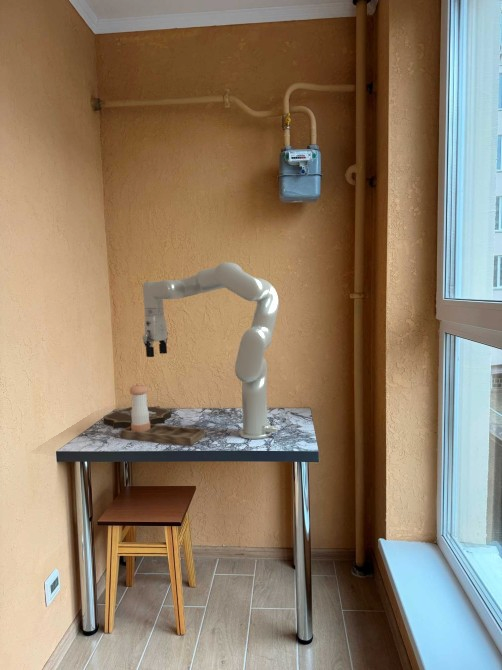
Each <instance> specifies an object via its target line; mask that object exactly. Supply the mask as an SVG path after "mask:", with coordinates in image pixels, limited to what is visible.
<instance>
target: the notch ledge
mask: <svg viewBox="0 0 502 670" xmlns="http://www.w3.org/2000/svg"><path fill="white" fill-rule="evenodd" d="M119 433H120V439H124V440H132V441H142V442H149V443H150V442H152V443H159V444H160V443H161V444H169V445H176V444H179V445H178V446H185V445H190V446H189V447H191V445H192V446H194V445H195V444H197V443H198V442H200V441H201V440H203V439H204V438H205V437H206V429H205V428H193V427H184V426H174V425H173V426H172V425H164V424H163V425H162V424H155V425H154V424H150V429H149V430H147V431H145V432H136V431H132V429H131V426H130V427H127V428H122V429H121V430H120V432H119ZM202 438H203V439H202ZM199 440H200V441H199ZM196 442H197V443H196ZM194 443H195V444H194Z"/></svg>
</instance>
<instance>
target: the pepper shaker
mask: <svg viewBox="0 0 502 670" xmlns="http://www.w3.org/2000/svg"><path fill="white" fill-rule="evenodd" d="M148 391H149V388H148V386H146V385H143V384H141V383H139V382H138V383H136V384H135V385H133V386H131V387H130V388H129V394H130V395H131V401H132V402H131V404H132V405H131V407H132V414H131V416H132V423H131V429H132V431H136V432H145V431H147V430H149V429H150V421H149V412H148V407H149V406H148V403H147V402H148V401H147V393H148Z"/></svg>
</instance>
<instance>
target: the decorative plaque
mask: <svg viewBox="0 0 502 670" xmlns="http://www.w3.org/2000/svg"><path fill="white" fill-rule="evenodd" d="M147 407H148V412H149V421H150V424H154V425H162V424H165V421H166V420H169V419H171V417H172V410H171V409H169V408H163V407H161V406H159V405H157V406H147ZM131 414H132V406H130V407H126V408H122V409H117V410H112V412H111V413H109V414H108V413H107V414H105V415H104V416H103V424H104V425H106V426H110V427H113V430H114V429H125V428H127V427H130V426H131V423H132V416H131Z"/></svg>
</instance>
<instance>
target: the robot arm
mask: <svg viewBox="0 0 502 670" xmlns="http://www.w3.org/2000/svg"><path fill="white" fill-rule="evenodd" d="M220 289H227V290H229V291H230V292H232V293H234V294H236V295H237V296H239V297H240V298H242V299H244V300H245V301H248V302H255V303H256V307H255V311H254V313H253V318H252V323H251V326H250V328H249V329H247V330H246V331H245V332H244V333H243V335H242V336H241V339H240V342H239V347H238V351H237V356H236V360H235V363H234V373H235V376H236V377H237V379H238V380H239V381H241V405H242V406H241V408H242V412H241V413H242V429H240V430H239V433H238V434H239V435H238V436H240V437H242V438H245V439H249V440H258V439H259V440H260V439H265V438H268V437H270V436H271V435H272V433H278V432H279V431H278V430H279V429H278V427H277V426H276V425H271V424H270V423H271V422H270V421H268V405H267V404H268V399H267V398H268V397H267V395H268V392H267V389H268V385H267V382H268V381H267V379H268V378H267V377H268V363H267V361H266V359H265V353H266V350H267V349H269V347H270V346H271V344H272V340H273V334H274V330H275V326H276V322H277V315H278V312H279V306H280V301H279V296H278V293H277V290H276V288H275V287H274V286H273V285H272V284H271V283H270V282H269V281H268V280H266V279H265V278H264V279H263V278H260V277H254V276H252V275H250V274H249V273H247V272H245V271H244V270H243V269H242V267H241V266H240V265H239V264H237V263H234V262H229V261H224V262H221V263H220V264H218V265H216V266H214V267H210V268H206V269H202V270H199V271H198V272H197V273H196V274H195V275H192V276H190V277H189V276H188V277H185V278H181V279H176V280H175V279H164V280H159V281H145V282H143V285H142V293H143V295H142V296H143V311H144V334H143V335H142V337H141V338H142V341H143V344H144V347H145V354H146V357H147V358H154V357H155V350H154V349H155V348H154V347H155V346H154V343H155V342H159V343H158V346H159V347H158V350H159V351H158V352H159V354H162V355H165V354H168V346H167V344H168V335H169V333H168V327H167V326H168V325H167V321H166V317H165V313H164V312H165V309H164V300H174V299H175V300H179V299H183V298H187V297H191V296H196V295H198V294H199V295H200V294H205V293H208V292H212V291H216V290H220Z"/></svg>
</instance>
